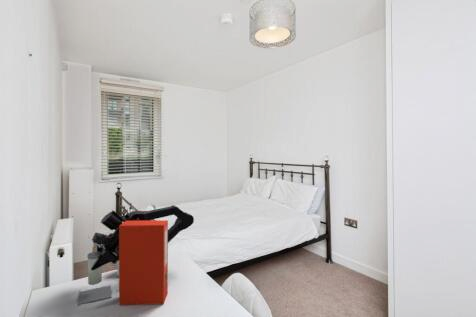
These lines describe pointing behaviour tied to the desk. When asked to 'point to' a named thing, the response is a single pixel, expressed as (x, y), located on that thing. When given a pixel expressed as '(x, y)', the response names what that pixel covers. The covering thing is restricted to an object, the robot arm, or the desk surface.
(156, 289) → the file binder
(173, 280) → the desk surface
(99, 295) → the charcoal pad
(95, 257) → the tin canister
